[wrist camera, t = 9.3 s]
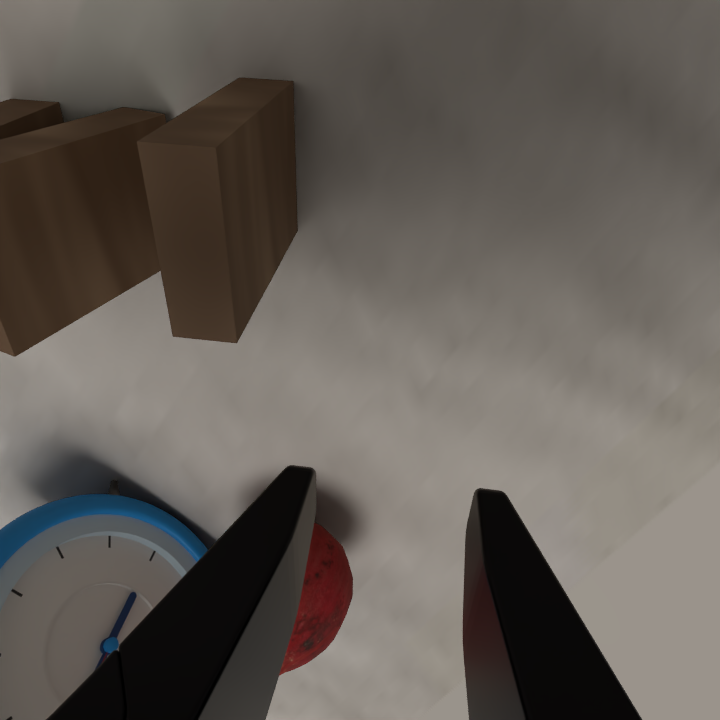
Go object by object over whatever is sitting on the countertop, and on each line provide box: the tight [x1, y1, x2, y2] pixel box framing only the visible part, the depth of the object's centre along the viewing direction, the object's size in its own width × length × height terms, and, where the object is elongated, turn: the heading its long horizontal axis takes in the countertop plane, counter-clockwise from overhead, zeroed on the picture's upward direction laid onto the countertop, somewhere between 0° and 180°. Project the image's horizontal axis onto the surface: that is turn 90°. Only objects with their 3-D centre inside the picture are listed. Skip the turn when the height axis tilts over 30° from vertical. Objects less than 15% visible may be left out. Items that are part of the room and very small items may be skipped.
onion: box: [279, 523, 353, 675], centre depth 25 cm, size 6×6×8 cm
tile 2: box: [0, 107, 166, 357], centre depth 16 cm, size 2×5×7 cm, turn 178°
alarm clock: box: [0, 480, 208, 720], centre depth 25 cm, size 13×6×15 cm, turn 42°
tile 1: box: [137, 78, 298, 343], centre depth 15 cm, size 2×5×7 cm, turn 178°
